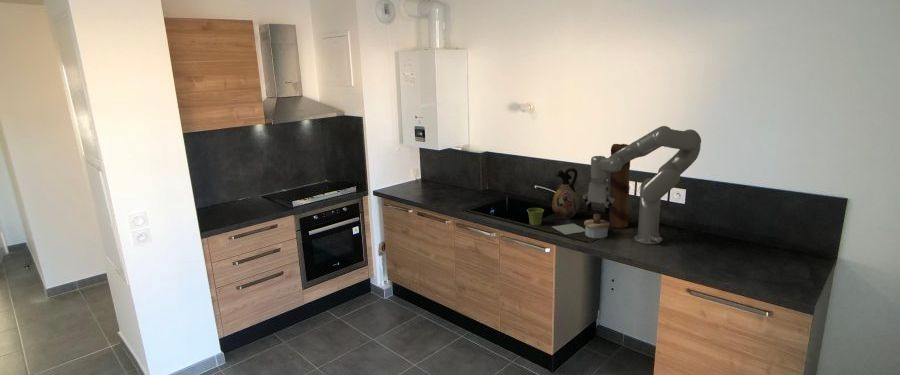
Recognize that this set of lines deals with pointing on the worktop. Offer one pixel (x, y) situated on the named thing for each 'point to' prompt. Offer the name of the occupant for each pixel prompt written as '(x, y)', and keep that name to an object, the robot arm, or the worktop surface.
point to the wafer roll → (619, 192)
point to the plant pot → (535, 215)
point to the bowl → (596, 232)
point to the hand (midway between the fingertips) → (598, 213)
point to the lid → (596, 222)
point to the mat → (569, 228)
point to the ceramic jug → (566, 196)
